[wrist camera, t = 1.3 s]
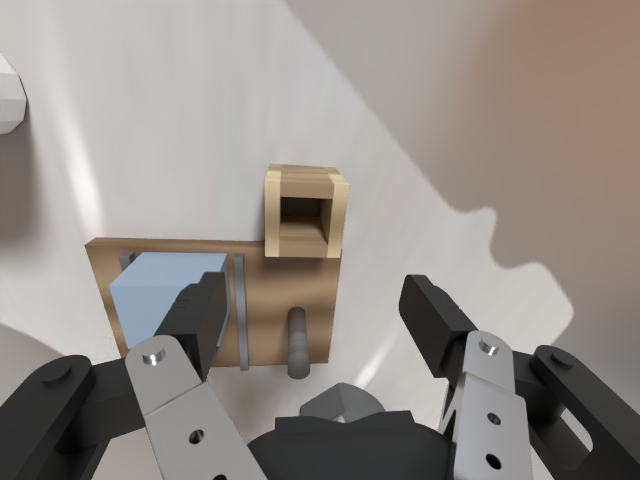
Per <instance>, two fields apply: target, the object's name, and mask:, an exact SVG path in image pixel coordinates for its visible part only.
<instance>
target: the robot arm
mask: <svg viewBox="0 0 640 480" xmlns="http://www.w3.org/2000/svg"><path fill="white" fill-rule="evenodd" d="M399 312H400V316H401V318H402V319H403V321H404V323H405V325H406V327H407V329H408V330H409V332H410V334H411V336H412V338H413V340H414V341H415V343H416V345H417V347H418V349H419V351H420V353H421V354H422V356H423V358H424V360H425V362H426V364H427V365H428V367H429V369H430V371H431V373H432V375H433V377H434V378H446V377H447V379H448V381H449V383H448V385H447V388H446V393H445V398H444V403H443V408H442V413H441V418H440V423H439V427H438V431H435V430H434V429H431V428H429V427H427V426H425V425H422V424H419V423H415V421H414V419H413V416H412V414H411V412H410V410H408V411H389V412H377V413H375V414H372V415H369V416H366V417H363V418H361V419H358V420H355V421H352V422H349V423H342V422H337V421H332V420H328V419H323V418H318V417H314V416H295V417H277V418H275V430H272V431H269V432H267V433H265V434H263V435H261V436H259V437H257V438H256V439H254V440H253V441H251V442H250V443H249V444H247V445H246V443H245V442H244V440H243V438H242V437H241V435H240V433H239V432H238V430H237V428H236V427H235V425H234V423H233V422H232V420H231V418H230V417H229V415H228V413H227V412H226V410H225V408H224V407H223V405H222V403H221V402H220V400H219V398H218V397H217V395H216V393H215V392H214V390H213V388H212V387H211V385H210V384H209V382H208V381H206V379H207V375H208V372H209V369H210V366H211V362H212V359H213V356H214V353H215V350H216V346H217V343H218V340H219V337H220V333H221V330H222V327H223V324H224V321H225V317H226V313H227V293H226V281H225V273H224V272H204V274H203V275H202V277H201V279H200V281H199V283H190V284H189V285H188V286H186V287H185V288H184V289H182V290H181V291H180V293H179V294H178V296H177V298H176V299H175V302H173V304H172V306H171V308H170V309H169V311H168V312H167V314H166V316H165V317H164V319H163V321H162V322H161V324H160V326H159V327H158V329H157V330H156V332H155V334H154V335H153V337H150V338H148V339H145V340H143V341H141V342H140V343H138V344H137V345H135V346H134V347H133V348H132V349H131V350H130V351H129V353H128V354H127V356H126V357H124V358H120V359H117V360H113V361H109V362H105V363H101V364H97V365H93V366H92V364H91V361H90V360H89V358H87V357H86V356H83V355H69V356H65V357H61V358H58V359H55V360H53V361H51V362H49V363H47V364H45V365H43V366H42V367H40V368H38V369H37V370H35V371H34V372H33V373H32V374H30V375H29V376H28V377H27V379H25V380H24V382H23V383H22V384H21V385H20V386H19V387H18V388H17V389H16V390H15V391H14V393H13V394H12V395H11V396H10V397H9V398H8V399H7V400H6V401H5V403H4V404H3V405H2V406H1V407H0V480H91V479H92V477H93V475H94V472H95V471H96V468H97V466H98V464H99V462H100V460H101V458H102V456H103V454H104V452H105V450H106V448H107V446H108V444H109V442H110V440H111V439H112V438H115V437H118V436H120V435H124V434H126V433H129V432H132V431H135V430H138V429H141V428H143V427H145V428H146V431H147V433H148V437H149V440H150V443H151V445H152V448H153V452H154V455H155V457H156V460H157V463H158V466H159V469H160V472H161V475H162V478H163V480H533V471H532V461H531V451H530V444H531V445H532V447H533V448H534V450H535V451H536V453H537V454H538V456H539V457H540V459H541V460H542V462H543V463H544V465H545V466H546V468H547V469H548V470H549V472H550V474H551V475H552V477H553V478H554V479H555V480H640V415H639V414H638V413H636V412H635V411H634V410H633V409H632V408H631V407H630V406H629V405H628V404H627V403H625V402H624V401H623V400H622V399H621V398H620V397H619V396H618V395H617V394H616V393H614V392H613V391H612V390H611V389H610V388H609V387H608V386H607V385H606V384H605V383H604V382H602V381H601V380H600V379H599V378H598V377H597V376H596V375H595V374H594V373H593V372H591V371H590V370H589V369H588V368H587V367H586V366H585V365H584V364H583V363H581V362H580V361H579V360H578V359H577V358H575V357H574V356H573V355H571V354H569V353H568V352H565V351H564V350H562V349H559V348H556V347H553V346H549V345H541V346H538V347H537V348H536V350H535V352H534V354H533V355H530V354H526V353H521V352H517V351H513V350H511V348H510V347H509V346H508V345H507V344H506V343H505V342H504V341H503V340H502V339H500V338H499V337H497V336H495V335H493V334H491V333H488V332H485V331H479V330H478V329H477V327H476V326H475V325H474V324H473V323H472V322H471V321H470V319H469V318H468V317H467V316H466V315H465V314H464V312H463V311H462V310H461V309H459V307H458V306H457V304H456V303H455V302H453V300H452V299H451V297H450V296H449V295H448V294H447V293H446V292H445V291H443V290H442V289H440V288H439V287H437V286H434V285H433V284H432V283H431V281H430V280H429V279H428V278H427V277H426V276H425V275H407V276H406V277H405V280H404V284H403V288H402V292H401V296H400V300H399ZM566 407H567V408H568V410H569V411H570V412H571V413H572V414H573V415H574V416H575V418H576V419H577V420H578V421H579V422H580V423H581V424H582V426H583V427H584V428H585V429H586V430H587V431H588V433H589V435H590V437H591V439H592V442H593V449H592V451H591V452H590V451H589V450H588V449H587V448H586V447H585V445H584V444H583V443H582V442H581V441H580V439H579V438H578V437H577V436H576V435H575V433H574V432H573V431H572V430H571V429H570V427H569V426H568V425H567V424H566V423H565V421H564V420H563V419H562V418H561V417H560V416H561V414H562V413H563V411H564V410H565V409H566Z"/></svg>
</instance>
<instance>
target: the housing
mask: <svg viewBox="0 0 640 480" xmlns="http://www.w3.org/2000/svg"><path fill="white" fill-rule="evenodd" d="M204 272H224V273H225V281H226V293H227V313H226V317H225V321H224V324H223V327H222V330H221V333H220V337H219V340H218V343H217V346H220V344H221V341H222V337H223V334H224V330H225V327H226V323H227V320H228V316H229V313H230V309H231V298H230V285H229V272H228V259H227V253H171V252H143V253H142V254H141V255H139V256H138V257H137V258H136V259H135V260H134V261H133V262H132V263H131V264H130V265H129V266H128V267H127V268H126V269H125V270H124V271H123V272H122V273H121V274H120V275H119V276H118V277H117V278H116V279H115V280H114V281H113V282H112V283H111V284H110V285H109V288H110V292H111V295H112V298H113V301H114V305H115V308H116V311H117V315H118V318H119V321H120V324H121V328H122V331H123V334H124V337H125V341H126V344H127V347H128V349H132V348H133V347H134V346H135V345H137V344H138V343H140V342H141V341H143V340H145V339H148V338H150V337H153V335H154V334H155V332H156V330H157V329H158V327H159V326H160V324H161V322H162V321H163V319H164V317H165V316H166V314H167V312H168V311H169V309H170V308H171V306H172V304H173V302H175V299H176V298H177V296H178V294H179V293H180V291H181V290H182V289H184V288H185V287H186V286H188V285H189V284H190V283H199V281H200V279H201V277H202V275H203V274H204Z"/></svg>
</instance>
